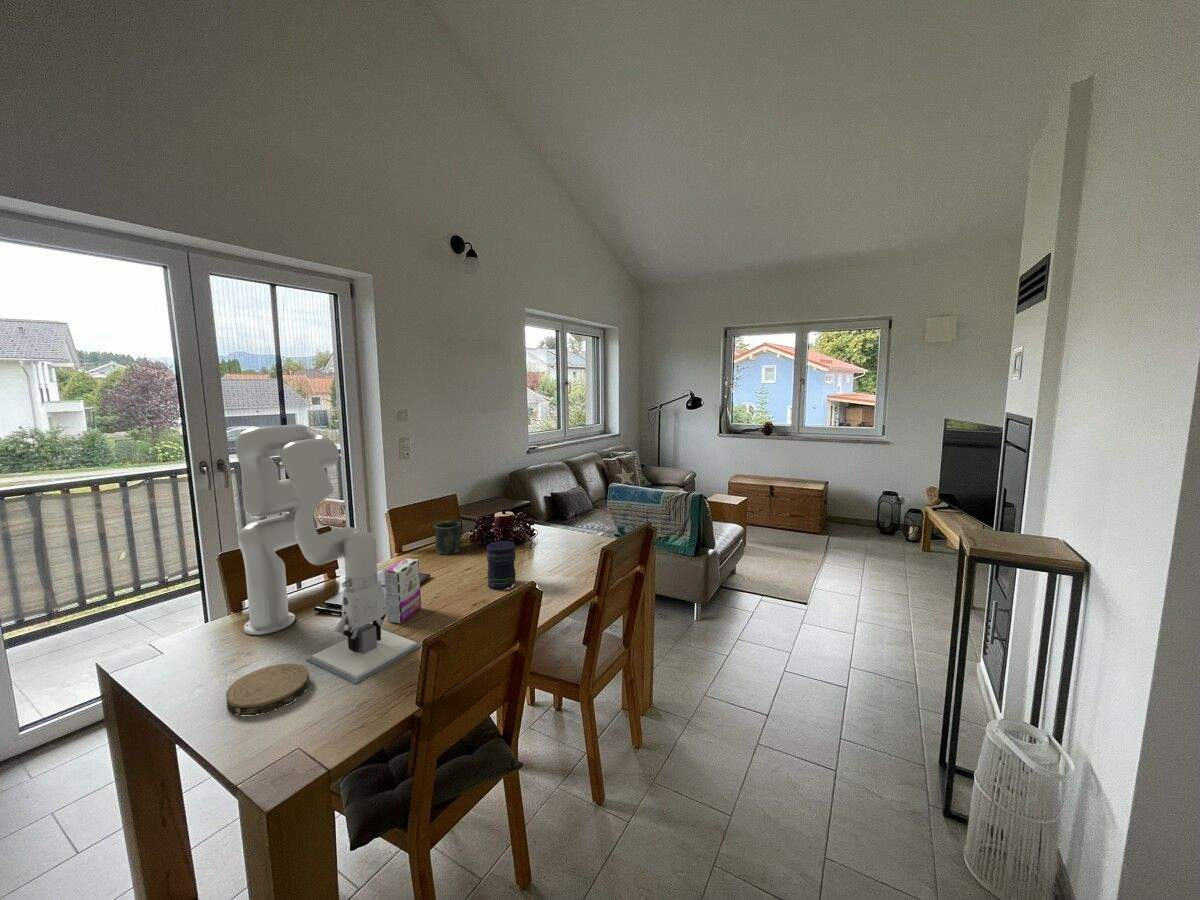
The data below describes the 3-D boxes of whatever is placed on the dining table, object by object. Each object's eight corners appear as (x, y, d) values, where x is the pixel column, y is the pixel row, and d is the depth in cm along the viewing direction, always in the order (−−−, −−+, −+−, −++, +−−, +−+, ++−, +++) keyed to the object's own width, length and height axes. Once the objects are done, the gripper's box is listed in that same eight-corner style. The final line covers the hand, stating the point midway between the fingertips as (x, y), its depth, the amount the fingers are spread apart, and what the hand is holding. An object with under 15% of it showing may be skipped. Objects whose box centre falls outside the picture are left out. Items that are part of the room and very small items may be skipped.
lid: (312, 658, 127) (310, 633, 127) (373, 628, 143) (372, 606, 142) (356, 679, 119) (355, 652, 118) (416, 645, 135) (415, 621, 134)
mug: (429, 553, 207) (428, 526, 206) (451, 543, 221) (450, 517, 219) (450, 557, 204) (449, 529, 202) (471, 546, 217) (471, 520, 216)
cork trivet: (264, 672, 123) (263, 661, 122) (324, 677, 121) (323, 665, 121) (207, 714, 107) (206, 702, 106) (275, 720, 105) (274, 707, 105)
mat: (306, 661, 127) (305, 659, 127) (374, 628, 145) (374, 626, 144) (355, 684, 118) (355, 682, 118) (422, 646, 135) (422, 644, 135)
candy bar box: (407, 606, 159) (405, 557, 156) (421, 608, 158) (419, 558, 156) (386, 622, 148) (383, 570, 146) (401, 624, 147) (398, 572, 145)
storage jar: (518, 580, 181) (518, 541, 179) (511, 591, 171) (510, 550, 169) (492, 579, 182) (491, 540, 180) (483, 590, 172) (482, 548, 170)
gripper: (339, 595, 119) (344, 664, 122) (399, 572, 134) (401, 634, 137) (320, 588, 123) (325, 656, 125) (380, 566, 138) (383, 627, 140)
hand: (365, 644), depth 131 cm, fingers open, 5 cm apart
